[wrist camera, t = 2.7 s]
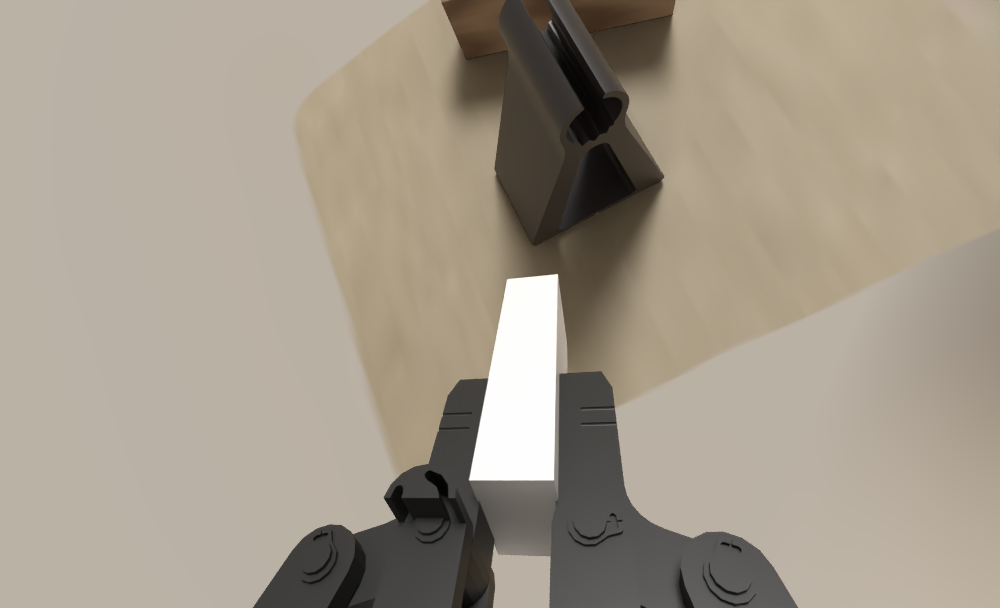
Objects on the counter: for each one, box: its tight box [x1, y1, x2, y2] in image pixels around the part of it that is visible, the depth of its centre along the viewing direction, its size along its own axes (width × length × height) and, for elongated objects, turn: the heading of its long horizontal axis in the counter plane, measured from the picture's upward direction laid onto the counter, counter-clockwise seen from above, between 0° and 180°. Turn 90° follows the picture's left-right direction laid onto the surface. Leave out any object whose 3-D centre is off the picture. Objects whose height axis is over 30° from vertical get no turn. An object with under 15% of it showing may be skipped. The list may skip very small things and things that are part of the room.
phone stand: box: [495, 0, 664, 246], centre depth 22 cm, size 9×6×12 cm, turn 115°
